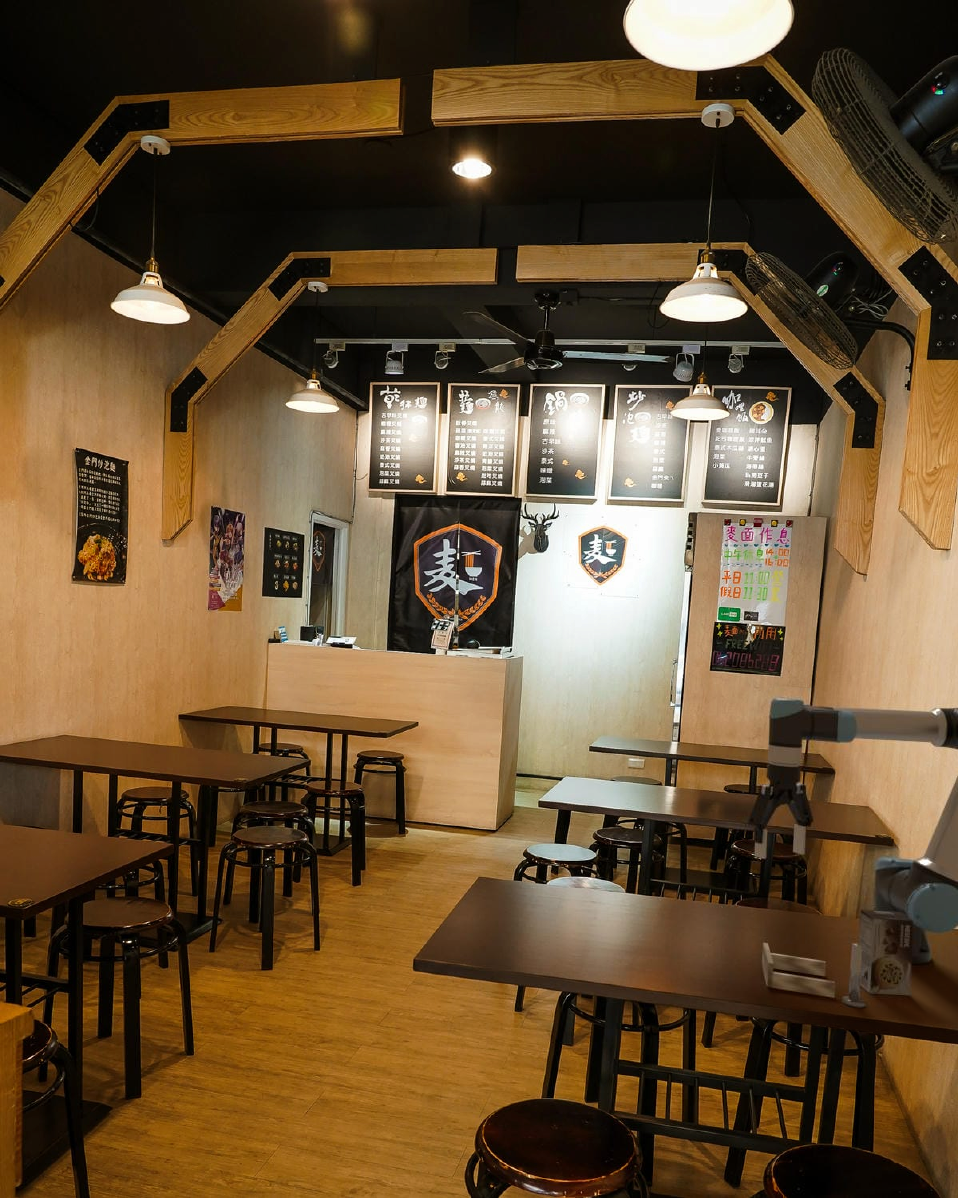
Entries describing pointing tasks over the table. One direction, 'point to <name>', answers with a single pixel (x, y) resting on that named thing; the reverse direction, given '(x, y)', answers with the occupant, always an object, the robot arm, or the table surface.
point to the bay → (795, 981)
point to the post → (855, 978)
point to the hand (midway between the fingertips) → (779, 855)
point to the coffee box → (886, 952)
